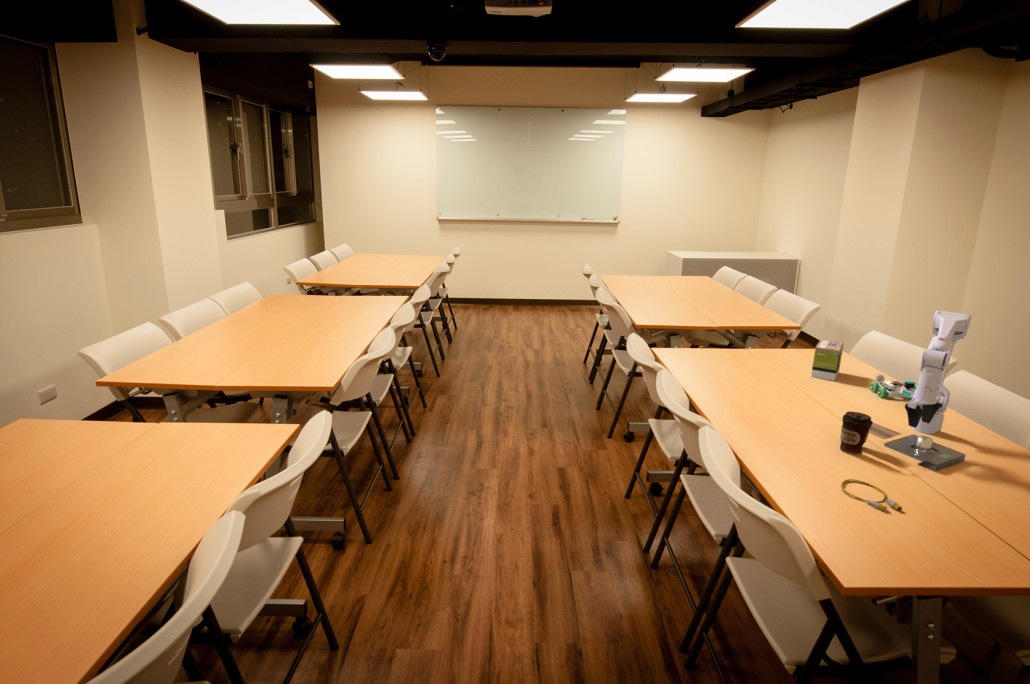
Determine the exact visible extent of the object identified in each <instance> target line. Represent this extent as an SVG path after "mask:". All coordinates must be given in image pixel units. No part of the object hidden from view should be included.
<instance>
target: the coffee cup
mask: <svg viewBox="0 0 1030 684" xmlns="http://www.w3.org/2000/svg"><path fill="white" fill-rule="evenodd" d="M872 423H874V421H872V417H871V416H870V415H868V414H867V413H863V412H857V411H846V412H845V414H844V415H843V416H842V425H841V430H840V431H841V432H840V445H839V449H840V450H841V451H842V452H844V453H847V454H850V455H855V456H860V455H862V454H863V451H862V449H863V446H864V444H865V443H867V440H868V437H869V434H870V433H869V429H870V428H871V425H872Z"/></svg>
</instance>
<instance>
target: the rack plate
mask: <svg viewBox="0 0 1030 684" xmlns="http://www.w3.org/2000/svg"><path fill="white" fill-rule="evenodd" d="M918 436H919V435H917V434H912V433H911V434H910V435H907V436H902V437H899V438H896V439H893V440H891V441H886V442H884V444H883V446H884V447H886V448H889V449H891V450H893V451H896V452H898V453H900V454H903V455H905V456H908V457H910V458H912V459H915V460H917V461H920V462H918V463H917V465H918V466H920V467H923V468H925V469H927V470H930V471H932V472H934V473H935V472H939V471H941V470H944V469H946V468H949V467H952V466H955V465H958V464H961V463H963V462H965V458H966V453H963V452H960V451H958V450H955V449H953V448H951V447H947V446H945V445H942V444H939V443H938V442H934V441H933V442H932V446H931V450H930V452H931V451H932V453H929V454H927V453H924V452H922V451H919V450H917V449H915V447H916V443H917V439H918Z"/></svg>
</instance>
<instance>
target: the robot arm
mask: <svg viewBox="0 0 1030 684" xmlns="http://www.w3.org/2000/svg"><path fill="white" fill-rule="evenodd" d="M971 321H972V315H971V314H970V313H960V312H953V311H946V310H941V309H938V310H936V311H935V312H934V316H933V319H932V325H931V326H932V327H931V328H932V334H933V335H935V336H933V337H932V338H931V339H930V342H929V345H928V347H927V349H925V350H923V352H922V355H921V359H920V368H919V371H920V373H919V377H918V381H917V384H916V385H917V387H916V390H915V392H914V394H912V395H911V397H913V399H912V398H911V400H909V402H908V403H905V404H904V409H905V411H906V415H907V423H908V424H907V425H908V426H909V427H910V428H911V429H912V430H914V431H915V432H918V433H922V434H926V435H934V434H936V433H937V432H942V428H943V423H944V421H945V420H944V419H945V415H944V413H946V411H947V410H948V407H949V401H950V395H951V392H950V390H949V389H948V388H947V387H946V386H944V383H945V382H944V381H945V378H946V375H947V370H948V367H949V364H950V361H951V356H952V353H953V349H954V348H955V347H954V346H955V345H956V343H957V342H958V341H959V340H964V339H965V337H966V336H967V334H968V331H969V328H970V326H971Z"/></svg>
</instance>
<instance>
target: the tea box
mask: <svg viewBox="0 0 1030 684" xmlns="http://www.w3.org/2000/svg"><path fill="white" fill-rule="evenodd" d="M843 349H844V342H840V341H839V342H837V341H832V340H824V339H820V340H819V341H818V343H817V344H816V346H815V348H814V355H813V361H812V368H811V374H810V377H811V378H816V379H820V380H827V381H832V382H835V381H836V379H837V376H838V375H839V373H840V368H841V362H842V355H843Z"/></svg>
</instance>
